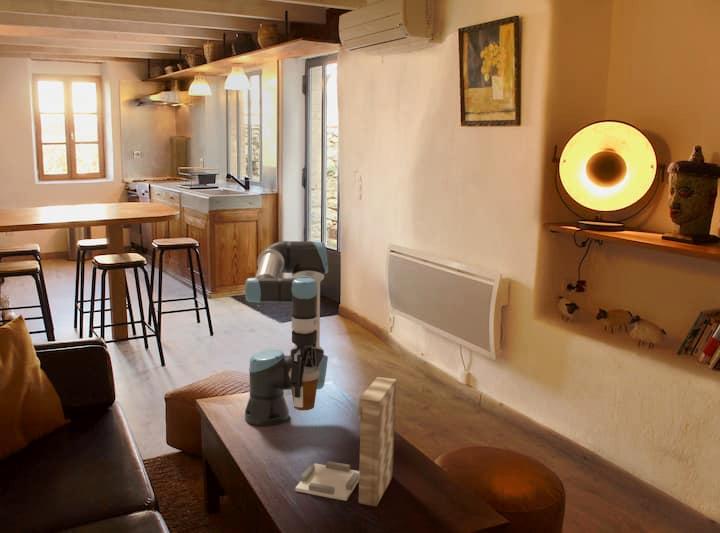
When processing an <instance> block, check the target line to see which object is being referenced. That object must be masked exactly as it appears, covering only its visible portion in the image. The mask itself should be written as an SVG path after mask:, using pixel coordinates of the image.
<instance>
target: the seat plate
mask: <svg viewBox="0 0 720 533" xmlns="http://www.w3.org/2000/svg"><path fill="white" fill-rule="evenodd" d="M358 484H359V470H355V469H351V464H347V463H342V462H336V461H331V460H327V461H326V463H325V464H322V463H321V464H320V463H314V464H309V466H308V467H307V468H306V470H304V472H303V473H302V474H301V475H300V481H299V483H298V484H297V485H296V486H295V487H294V488H295V490H294V491H295V492H298V493H305V494H310V495H314V496H320V497H325V498H329V499H336V500H341V501H347V500H349V499H348V498H349V497H350V496H351V494H352V493H353V491H354V489H355V488H356V487H357V485H358Z"/></svg>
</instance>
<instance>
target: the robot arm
mask: <svg viewBox="0 0 720 533" xmlns="http://www.w3.org/2000/svg"><path fill="white" fill-rule="evenodd" d="M326 248H327V247H326V245H325V243H324V242H322V241H314V240H310V241H295V240H294V241H293V240H292V241H289V240H281V241H278V242H275V243H271V244H270V245H268V246H267V247H265V248H264V249H262V250H261V252H260V253H259V255H258V258H257V261H256V263H257V271H256V274H255V277H248V278H247V279H246V280H245V285H244V295H245V300H246V301H247V302H248V303H257V304H259V303H289V304H290V303H291V329H292V331H291V342H292V343H293V344H294V346H293V347H292V348H291V349H290V355H285V353H284V351H283V350H281V349H266V350H262V351H260V352H256V353H255V354H253V355H252V356H251V357H250V359H249V368H248V372H249V399H248V402H247V403H246V404H247V405H246V407H245V410H244V420H245V421H246V422H247V423H249V424H250V425H254V426H259V427H268V426H269V427H270V426H271V427H272V426H277V425H280V424H283V423H285V422H287V420H288V419H289V417H290V414H289V412H290V411H289V410H290V409H289V407H288V403H287V401H286V398H285V396H284V395H285V394H284V393H285V392H284V391H285V390H286V391H287V390H288V391H290V390H291V391H292V388H291V387H294V404H293V407H294V406H295V407H301V408H302V407H303V386H302V377H303V374H304V369H305V366H306V367H312V366H315V367H317V368H318V370H319V372H320V375H319V377H318V383H317V390H321V389H323V388H324V386H325V382H326V375H327V369H328V368H327V367H328V362H329V361H328V360H329V356H328V355H326V354H325V350H324V349H323V348H322V347H321V346H320V341H321V340H320V339H321V338H320V337H321V336H320V334H321V333H320V332H321V331H320V328H321V327H320V326H321V322H320V320H321V318H320V317H321V316H320V315H321V282H322V281H323V280H324V279H325V275H326V274H329V263H328V254H327V249H326ZM280 274H291V277H292V278H290V277H288V278H286V277H285V278H283V277H281V278H280ZM291 368H292V370H291V381H290V377H289V374H288V373H289V372H290V369H291Z"/></svg>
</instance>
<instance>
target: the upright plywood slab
mask: <svg viewBox="0 0 720 533" xmlns="http://www.w3.org/2000/svg"><path fill="white" fill-rule="evenodd" d="M396 388H397V379H396V378H390V377H381V376H377V377H376V378H375V379H374V380H373V381H372V383H371V384H370V385H369V386H368V387H367V389H366V390H365V391H364V392H363V393H362V394H361V396H360V397H359V398H358V421H360V422H359V424H360V425H359V426H360V427H359V430H360V431H359V465H358V471H359V482H358V503H359V504H362V505H367V506H372V507H377V506H378V504H379V503H380V500H381V499H382V497H383V496H384V493H385V492H386V490H387V488H388V486H389V485H390V482H391V481H392V478H393V476H394V448H395V443H394V442H395V425H396V424H395V423H396V422H395V420H396V419H395V418H396V415H395V414H396V394H397V393H396V392H397V391H396V390H397V389H396Z"/></svg>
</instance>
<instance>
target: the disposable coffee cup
mask: <svg viewBox="0 0 720 533" xmlns="http://www.w3.org/2000/svg"><path fill="white" fill-rule="evenodd" d="M291 370H292V368H291V369H290V372H289V373H288V374H289V377H290V381H291ZM319 375H320V372H319V370H318V368H317V367H315V366H312V367H306V366H305V369H304V374H303V377H302V386H303V407H302V408H301V407H295V406H294V387H291V388H292V390H291V395H292V396H291V397H292V403H293V408H294V409H296V410H298V411H310V410H312V409H314V408H315V402H316V396H317V390H318V389H317V383H318V377H319Z"/></svg>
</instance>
